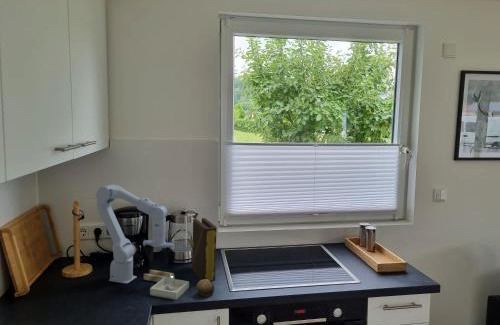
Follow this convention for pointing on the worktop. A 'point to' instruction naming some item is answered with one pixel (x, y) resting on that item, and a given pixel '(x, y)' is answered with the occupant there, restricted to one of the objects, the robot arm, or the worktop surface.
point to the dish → (161, 292)
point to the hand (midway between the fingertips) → (158, 262)
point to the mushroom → (205, 287)
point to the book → (204, 249)
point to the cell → (170, 282)
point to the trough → (155, 275)
